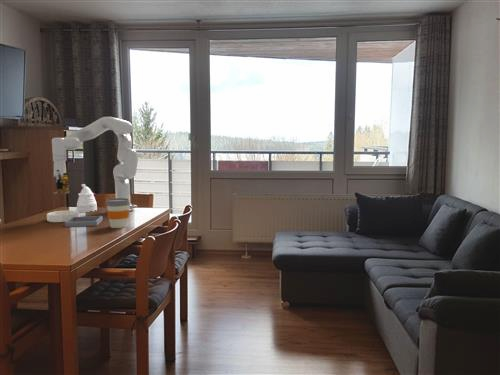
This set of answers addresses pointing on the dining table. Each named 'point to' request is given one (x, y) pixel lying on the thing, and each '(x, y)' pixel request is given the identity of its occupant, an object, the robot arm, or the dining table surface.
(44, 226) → the dining table surface
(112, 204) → the reusable coffee cup
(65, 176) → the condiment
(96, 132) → the robot arm
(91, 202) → the honey pot
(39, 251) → the dining table surface
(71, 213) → the bowl
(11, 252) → the dining table surface
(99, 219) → the square frame
